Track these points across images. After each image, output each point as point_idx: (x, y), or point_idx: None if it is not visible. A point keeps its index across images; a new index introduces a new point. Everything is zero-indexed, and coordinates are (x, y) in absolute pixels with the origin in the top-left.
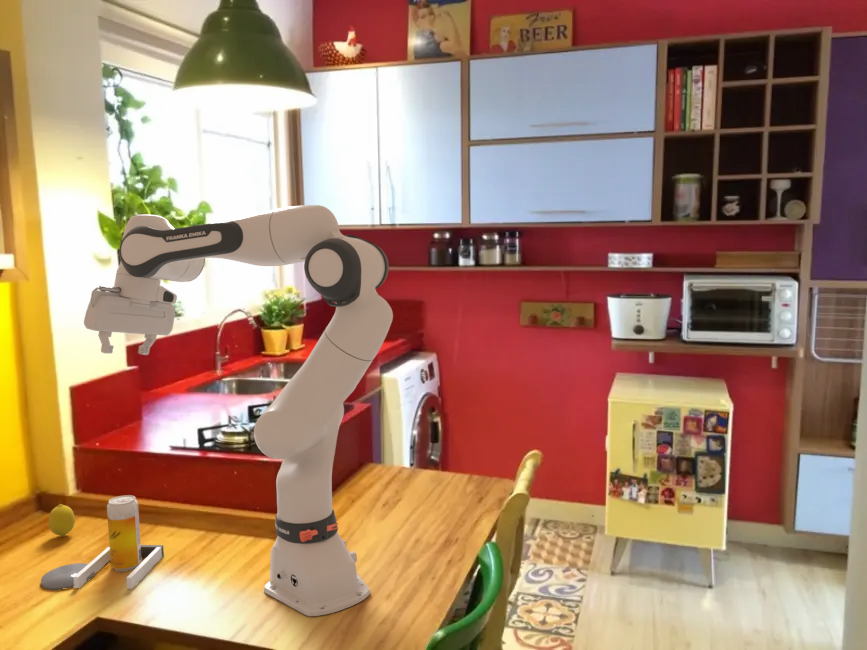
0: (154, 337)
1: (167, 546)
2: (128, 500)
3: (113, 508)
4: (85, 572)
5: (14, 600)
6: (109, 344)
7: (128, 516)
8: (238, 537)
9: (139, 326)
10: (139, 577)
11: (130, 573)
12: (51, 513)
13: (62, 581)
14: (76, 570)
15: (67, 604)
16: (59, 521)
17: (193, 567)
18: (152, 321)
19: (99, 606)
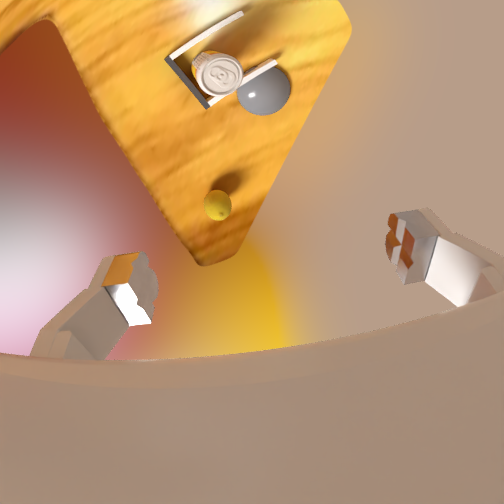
0: (44, 346)
1: (146, 81)
2: (216, 66)
3: (241, 66)
4: (261, 66)
5: (315, 89)
6: (447, 238)
7: (221, 53)
8: (74, 47)
9: (237, 438)
10: (222, 20)
11: (235, 19)
12: (230, 210)
13: (276, 80)
14: (254, 92)
15: (294, 39)
16: (225, 196)
17: (160, 6)
18: (43, 487)
19: (279, 9)
